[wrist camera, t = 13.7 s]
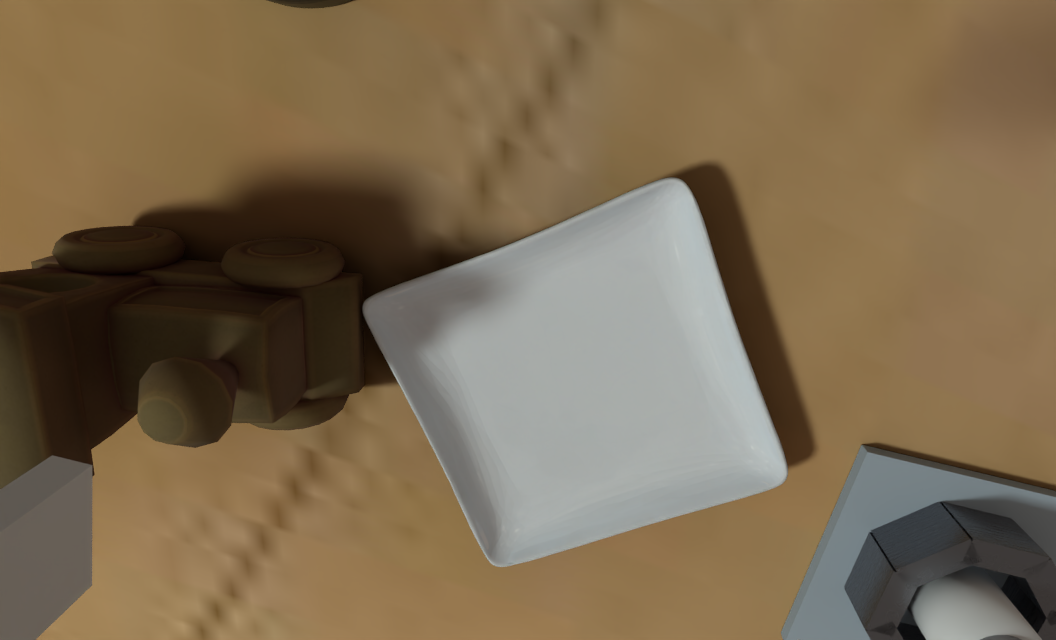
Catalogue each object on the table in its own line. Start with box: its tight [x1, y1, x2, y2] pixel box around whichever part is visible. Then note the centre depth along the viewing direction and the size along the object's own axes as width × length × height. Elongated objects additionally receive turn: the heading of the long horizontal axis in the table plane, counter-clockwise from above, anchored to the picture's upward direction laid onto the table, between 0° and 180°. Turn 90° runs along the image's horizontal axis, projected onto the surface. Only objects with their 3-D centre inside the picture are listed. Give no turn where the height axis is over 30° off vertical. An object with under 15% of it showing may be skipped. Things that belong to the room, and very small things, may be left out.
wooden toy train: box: [0, 226, 365, 489], centre depth 38 cm, size 20×11×17 cm, turn 87°
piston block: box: [781, 445, 1056, 640], centre depth 43 cm, size 16×16×8 cm
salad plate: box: [362, 177, 788, 567], centre depth 44 cm, size 21×21×3 cm
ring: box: [844, 501, 1056, 640], centre depth 44 cm, size 12×12×4 cm
